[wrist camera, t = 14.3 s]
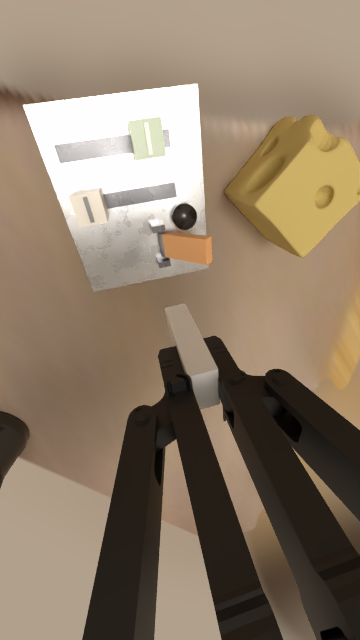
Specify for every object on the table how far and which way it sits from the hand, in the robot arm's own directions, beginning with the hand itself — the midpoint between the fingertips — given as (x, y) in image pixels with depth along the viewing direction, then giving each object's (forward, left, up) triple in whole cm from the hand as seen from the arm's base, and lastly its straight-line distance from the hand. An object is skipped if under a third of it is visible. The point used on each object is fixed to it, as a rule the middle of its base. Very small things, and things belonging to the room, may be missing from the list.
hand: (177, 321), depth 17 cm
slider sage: (+2, +11, -18) cm, 21 cm away
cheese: (+18, +4, -21) cm, 28 cm away
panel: (-1, +5, -20) cm, 21 cm away
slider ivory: (-6, +6, -18) cm, 20 cm away
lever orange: (+1, 0, -18) cm, 18 cm away
